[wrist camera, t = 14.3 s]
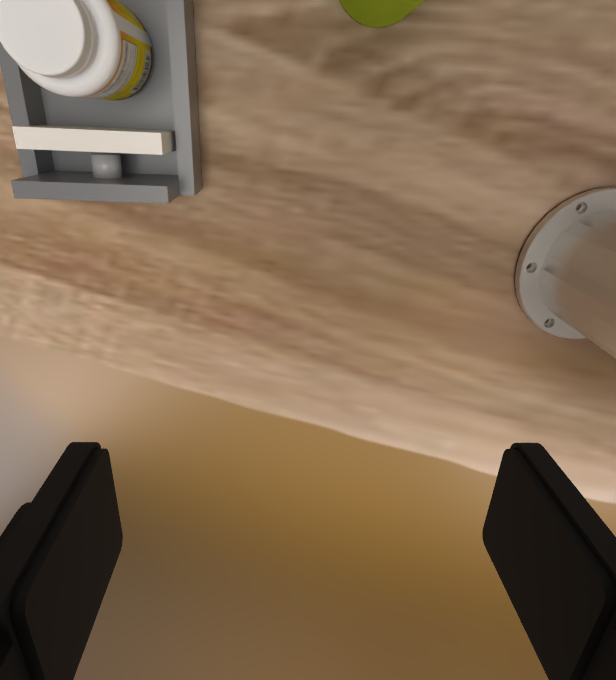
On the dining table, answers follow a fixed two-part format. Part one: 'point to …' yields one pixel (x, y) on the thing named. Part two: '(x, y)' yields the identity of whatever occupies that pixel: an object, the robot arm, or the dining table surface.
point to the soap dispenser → (379, 11)
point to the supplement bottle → (78, 46)
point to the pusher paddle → (94, 139)
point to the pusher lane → (118, 122)
